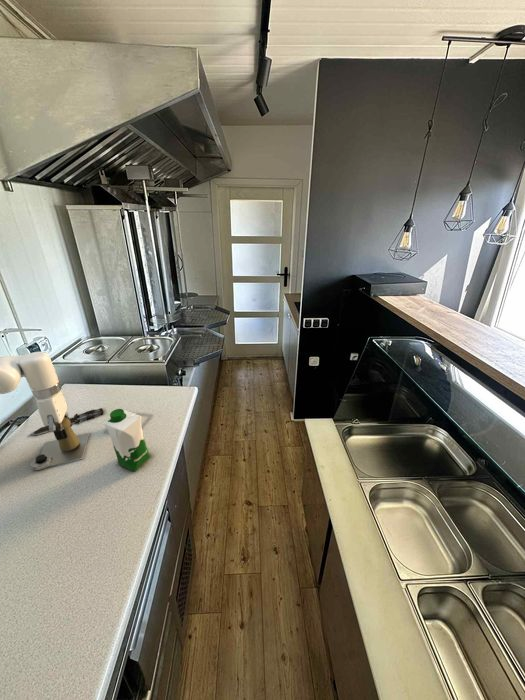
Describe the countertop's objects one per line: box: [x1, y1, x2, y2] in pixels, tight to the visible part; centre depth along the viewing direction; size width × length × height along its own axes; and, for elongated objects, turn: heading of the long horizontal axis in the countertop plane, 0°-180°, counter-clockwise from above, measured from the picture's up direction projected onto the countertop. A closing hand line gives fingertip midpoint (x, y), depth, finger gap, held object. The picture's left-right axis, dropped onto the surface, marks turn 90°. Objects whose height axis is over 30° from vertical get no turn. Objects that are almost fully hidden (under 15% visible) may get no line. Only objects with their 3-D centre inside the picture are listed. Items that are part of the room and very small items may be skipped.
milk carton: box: [104, 408, 151, 472], centre depth 93 cm, size 9×9×20 cm
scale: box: [30, 432, 90, 471], centre depth 100 cm, size 15×14×2 cm
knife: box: [29, 407, 105, 436], centre depth 115 cm, size 25×6×1 cm, turn 118°
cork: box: [54, 418, 80, 451], centre depth 100 cm, size 6×6×11 cm
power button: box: [34, 453, 46, 464], centre depth 95 cm, size 3×3×2 cm
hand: (64, 432), depth 100 cm, fingers closed on cork, 5 cm apart
